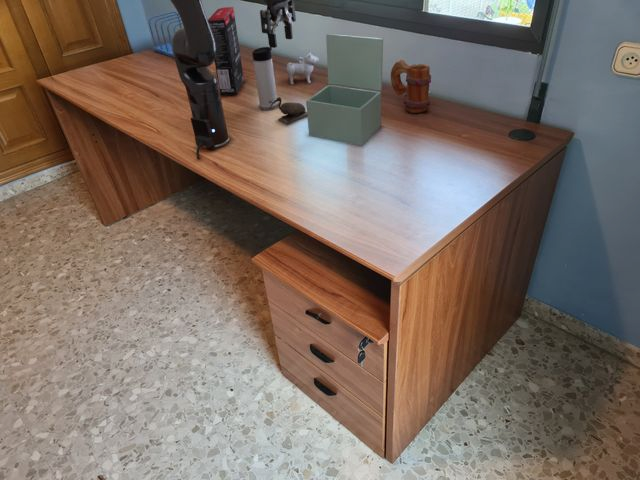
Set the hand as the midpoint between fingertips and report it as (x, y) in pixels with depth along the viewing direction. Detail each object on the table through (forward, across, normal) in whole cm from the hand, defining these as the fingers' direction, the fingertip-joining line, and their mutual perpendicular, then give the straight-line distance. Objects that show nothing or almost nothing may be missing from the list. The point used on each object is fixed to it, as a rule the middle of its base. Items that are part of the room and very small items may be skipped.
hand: (281, 43), depth 141 cm
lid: (+6, -7, +20) cm, 22 cm away
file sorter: (+25, -50, -94) cm, 109 cm away
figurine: (+25, -1, -1) cm, 25 cm away
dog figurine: (+25, -34, -16) cm, 45 cm away
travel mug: (+25, -8, -14) cm, 30 cm away
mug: (+25, -24, +32) cm, 47 cm away
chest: (+25, 0, +20) cm, 32 cm away
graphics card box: (+25, -18, -38) cm, 49 cm away
